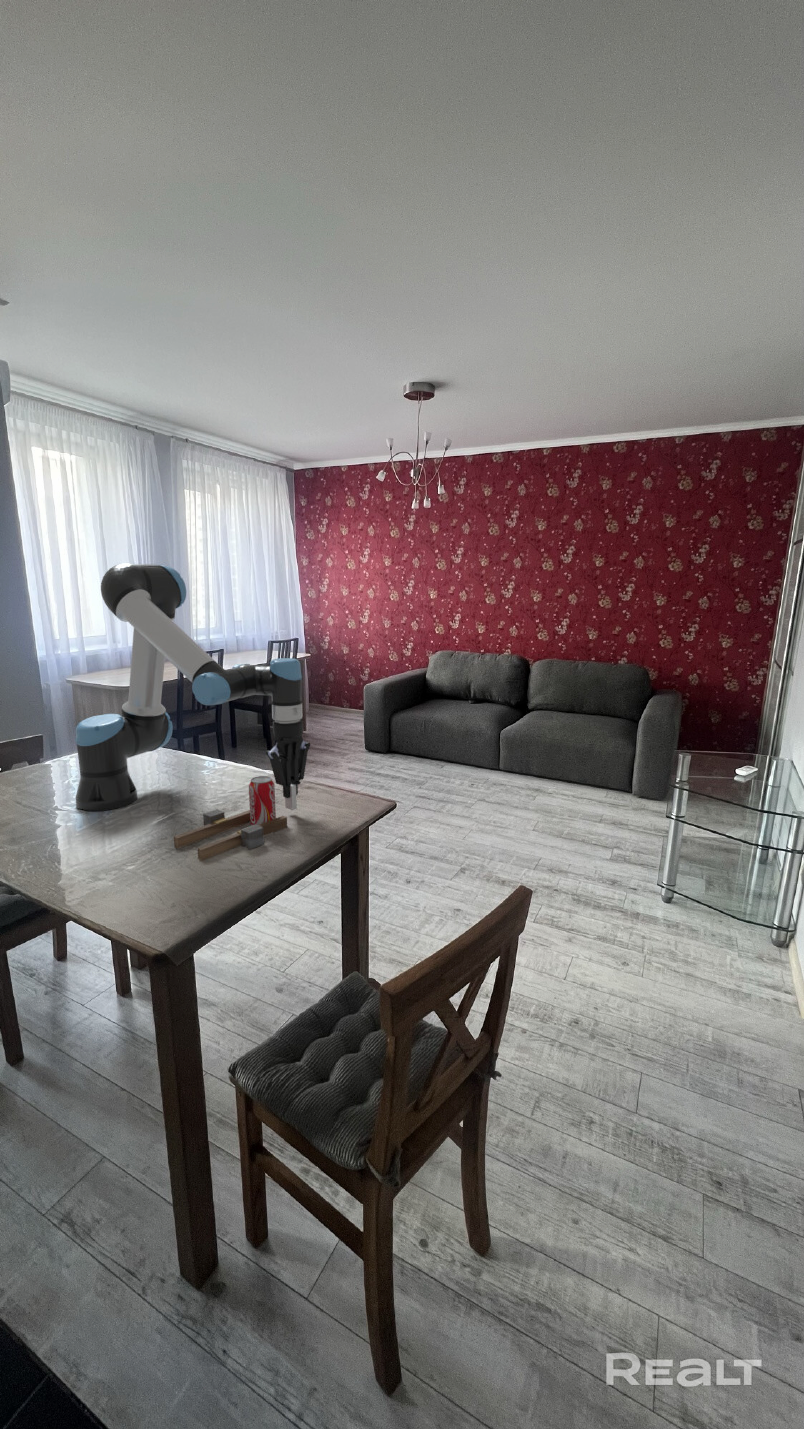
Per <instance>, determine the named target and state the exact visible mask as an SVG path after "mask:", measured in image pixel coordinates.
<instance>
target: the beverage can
mask: <svg viewBox="0 0 804 1429" xmlns="http://www.w3.org/2000/svg"><path fill="white" fill-rule="evenodd" d="M275 788H276V787H275V783H274V780H273V778H272V777H271V776H269V775H268V776H267V775H260V776H255V777H252V778H251V779H250V782H249V784H248V801H249V802H248V803H249V810H250V822H249V823H250V826H252V825H260V824H262V823H265V822H268V821H270V820H273V819H276V818H277V813H276V811H277V810H276V790H275Z"/></svg>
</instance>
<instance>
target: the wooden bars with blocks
mask: <svg viewBox="0 0 804 1429" xmlns="http://www.w3.org/2000/svg"><path fill="white" fill-rule="evenodd" d="M202 818H203V819H202V820H203V826H200V827H195V828H194V829H191V830H189V831H186V832H182V833H180V834H179V833H178V834H177V835H174V836H173V845H174V846H173V847H174V848H176V849H180V848H183V847H186V846H188V845H191V844H193V843H196V842H199V841H202V840H205V839H207V838H210V837H213V836H216V835H218V834H222V833H224V832H227V831H229V830H232V829H235V828H237V827H241V826H243V825H246V824H249V823H250V809H248V810H246V811H243V812H239V813H237V814H234V815H231V816H228V817H225V811H223V810H220V809H218V808H217V809H213V810H210V811H207V812H205V813H202ZM287 827H288V817H287V816H284V815H281V816H279V817H276V819H273V820H270V821H268V822H265V823H262V824H260V825H249V826H247V827H244V828H242V829H240V830H238V831H237V832H236V833H233V834H230V835H228V836H226V837H223V838H220V839H218V840H215V841H213V842H209V843H207V844H205V845H202V846H199V847H197V849H196V850H197V859H198V860H200V861H205V860H207V859H209V858H212V857H214V856H217V855H220V854H222V853H225V852H227V851H230V850H232V849H235V848H237V847H240V846H241V847H243V848H245V849H248V850H253V849H254V848H257V847H259V846H262V845H265V844H264V843H265V838H264V837H265V836H267V835H269V834H272V833H275V832H277V831H279V830H283V829H285V828H287Z"/></svg>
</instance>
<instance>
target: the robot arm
mask: <svg viewBox="0 0 804 1429" xmlns="http://www.w3.org/2000/svg"><path fill="white" fill-rule="evenodd" d="M100 592H101V593H100V594H101V597H102V600H103V602H104V604H105V605H106V607H107V608H108V610H109V612H111V614H113V615H114V616H115V617H116V618H117V619H118V620H119V621H121V622H125V623H129V625H131V626H132V627H133V633H132V634H133V635H132V649H131V661H130V672H129V673H130V675H129V685H128V686H129V687H128V699H127V701H125V702H124V703H123V704H122V706H121V714H117V713H105V714H104V713H103V714H101V715H99V714H98V715H94V716H90V717H87V718H85V719H83V720H81V721H80V722H78V724H77V725H76V728H75V740H74V741H75V743H76V748H77V749H76V750H77V758H78V767H79V768H78V769H79V775H80V778H79V782H78V787H77V790H76V795H75V805H76V807H78V808H77V809H78V810H82V809H83V810H82V811H87V812H88V811H91V812H100V811H108V810H115V809H118V808H123V807H125V806H127V805H131V804H132V803H134V802H135V801H136V800H137V798H138V790H137V788H136V785H135V784H134V782H133V779H132V777H131V775H130V773H129V770H128V759H129V758H132V757H136V756H139V755H142V754H145V753H147V752H148V753H149V752H154V751H156V750H158V749H159V748H162V747H164V746H165V745H167V744H168V742H169V741H171V740H170V739H171V738H172V735H173V729H174V727H173V722H172V720H170V719H171V717H170V715H169V714H168V712H167V710H166V707H165V706H164V705H163V704H162V695H163V694H162V692H163V686H164V685H163V684H164V674H165V673H164V672H165V662H166V661H165V660H166V659H167V661H169V662H170V664H172V665H173V666H174V667H175V668H176V669H177V670H178V671H179V672H180V673H181V674H182V675H183V676H185V678H186V679H187V680H189V681H190V682H191V683H192V685H191V686H192V687H191V688H192V694H193V695H194V697H195V700H196V701H197V702H199V703H200V704H202V705H203V706H204V705H205V706H216V705H222V704H225V703H227V702H230V701H234V700H240V699H243V698H247V697H251V696H255V695H256V696H268V697H271V719H272V720H273V721H272V734H273V736H274V737H273V738H274V741H273V747H272V748H271V749H270V750H266V753H265V754H266V756H267V757H268V758H269V761H270V765H271V769H272V774H273V777H274V781H275V783H276V785H280V786H282V794H283V796H282V797H284V800H285V802H284V803H285V809H288V810H291V811H294V810H296V809H298V807H297V806H298V804H297V801H298V800H297V796H298V793H299V790H298V788H299V786H298V785H300V784H302V783H301V782H302V780H304V778H305V772H306V765H307V759H308V753H309V750H310V747H311V743H310V742H309V741H305V740H304V738H303V734H304V722H303V720H302V718H304V717H303V716H304V715H303V714H304V713H303V700H302V698H303V695H302V691H303V690H302V680H303V676H302V671H301V670H302V668H301V662H300V661H299V660H298V659H297V658H291V657H287V658H285V657H283V658H281V657H280V658H275V659H274V658H273V659H272V660H270V662H269V665H259V664H257V665H256V664H250V663H244V664H243V663H241V664H240V663H239V664H235V665H233V666H232V668H229V669H225V668H223V667H222V665H221V664H219V663H218V662H217V660H215V659H214V658H213V657H212V656H211V655H209V653H207V652H206V651H205V649H203V648H202V647H201V646H200V645H199V644H197V642H196V641H194V639H193V638H191V636H190V635H188V634H187V633H186V632H185V631H184V630H183V629H181V627H180V626H179V625H178V624H176V623H175V621H173V620H174V619H175V618H176V609H179V608H180V607H181V606H182V605H183V604H184V603H185V601H186V598H187V588H186V583H185V580H184V579H183V577H182V576H181V573H179V572H178V570H176V569H175V568H173V567H171V566H168V565H162V564H155V563H152V564H151V563H129V562H127V563H118V564H116V565H114V566H112V567H111V568H109V569H108V570H107V571H106V572H105V573H104V575H103V576H102V579H101V581H100Z"/></svg>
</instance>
